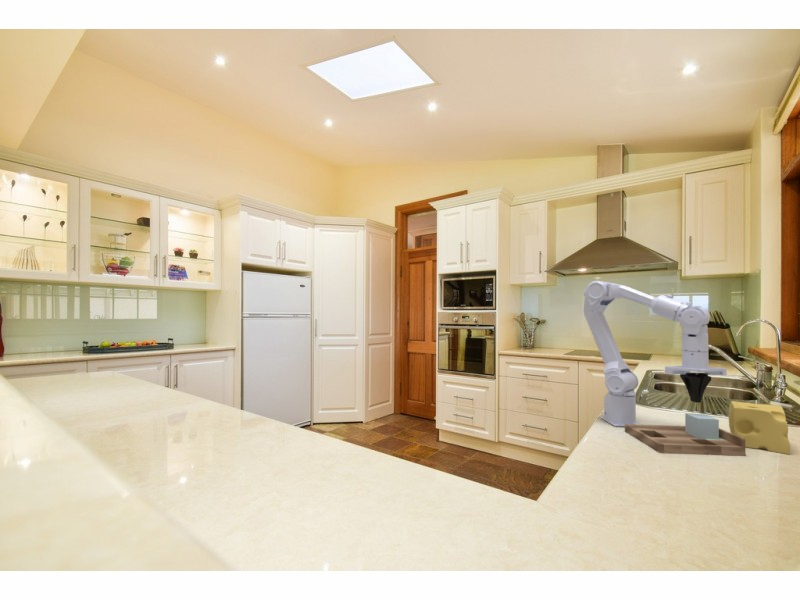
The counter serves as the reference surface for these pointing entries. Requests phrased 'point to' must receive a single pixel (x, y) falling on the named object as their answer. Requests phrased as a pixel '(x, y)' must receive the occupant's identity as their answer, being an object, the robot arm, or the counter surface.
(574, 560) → the counter surface
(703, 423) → the blue block
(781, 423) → the cheese
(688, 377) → the robot arm
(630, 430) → the board
